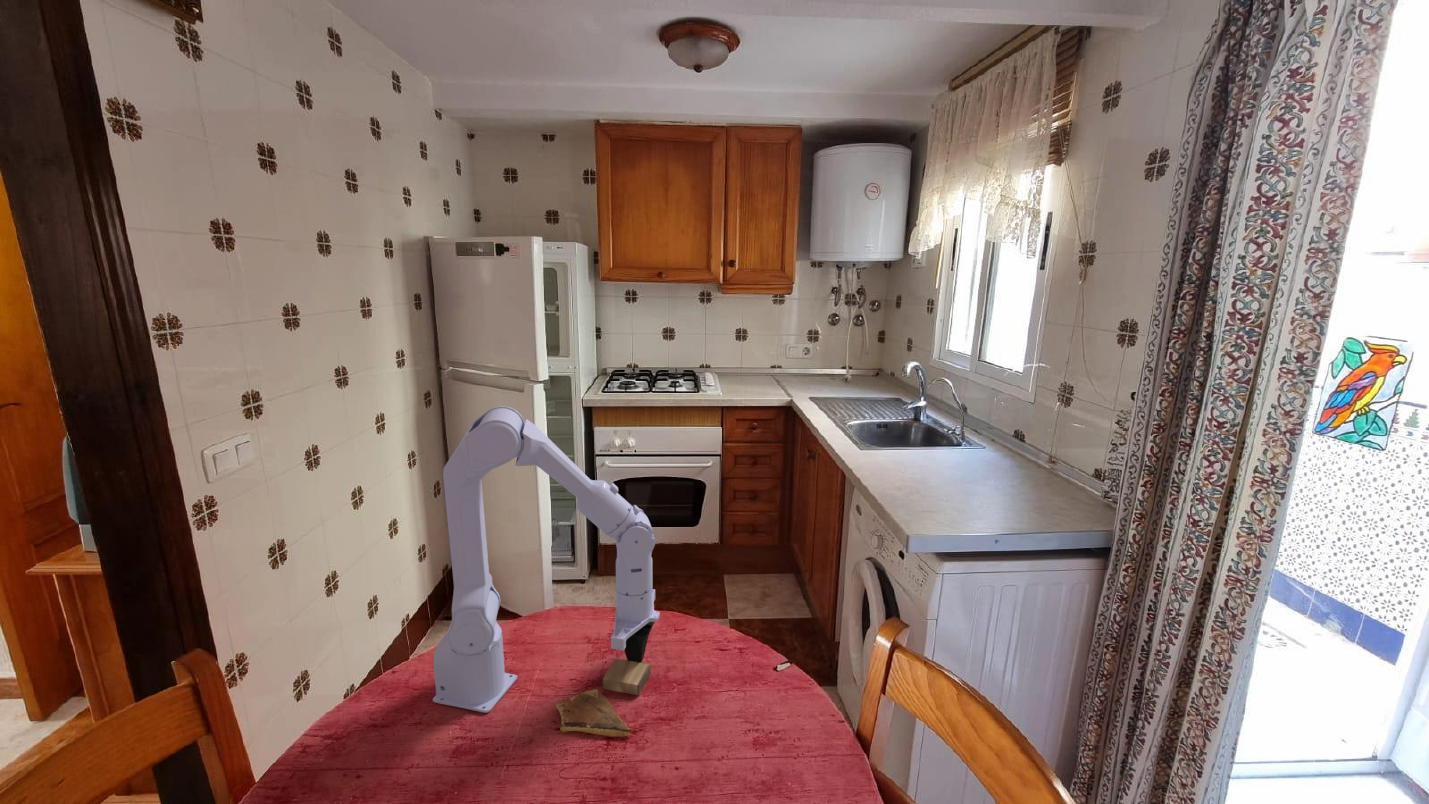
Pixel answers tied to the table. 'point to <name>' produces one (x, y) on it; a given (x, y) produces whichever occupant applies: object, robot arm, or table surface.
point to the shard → (591, 715)
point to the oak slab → (627, 676)
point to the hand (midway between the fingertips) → (635, 662)
